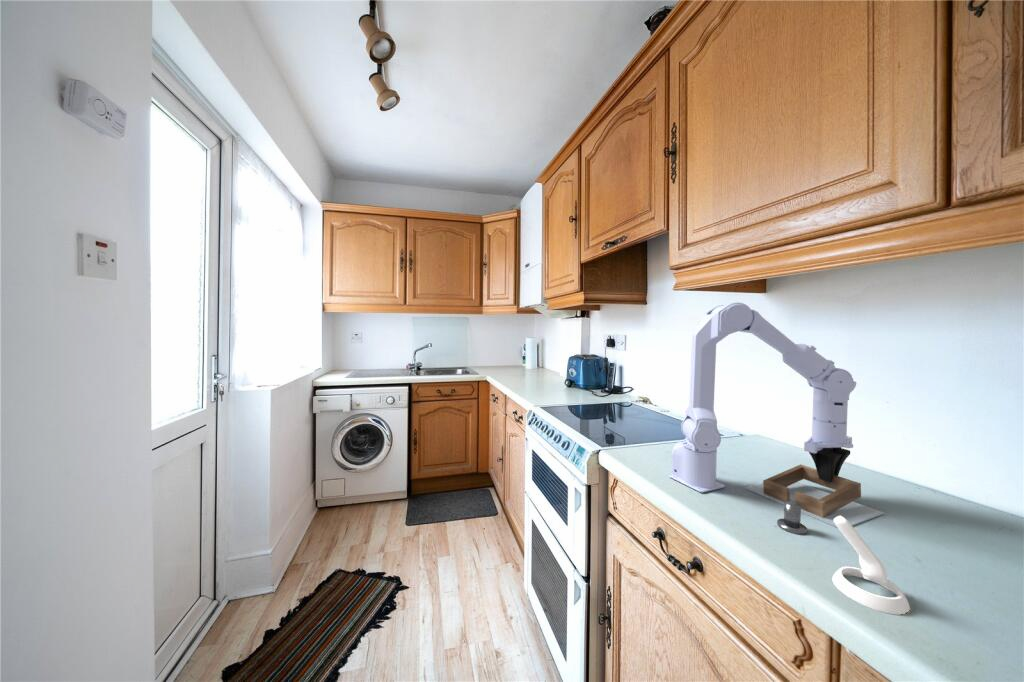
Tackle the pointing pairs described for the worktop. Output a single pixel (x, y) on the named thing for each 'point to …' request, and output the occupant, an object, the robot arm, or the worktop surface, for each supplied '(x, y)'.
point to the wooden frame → (820, 507)
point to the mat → (850, 512)
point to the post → (792, 519)
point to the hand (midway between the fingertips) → (827, 479)
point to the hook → (867, 576)
